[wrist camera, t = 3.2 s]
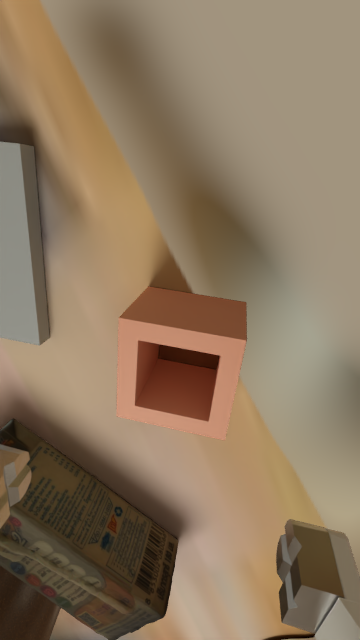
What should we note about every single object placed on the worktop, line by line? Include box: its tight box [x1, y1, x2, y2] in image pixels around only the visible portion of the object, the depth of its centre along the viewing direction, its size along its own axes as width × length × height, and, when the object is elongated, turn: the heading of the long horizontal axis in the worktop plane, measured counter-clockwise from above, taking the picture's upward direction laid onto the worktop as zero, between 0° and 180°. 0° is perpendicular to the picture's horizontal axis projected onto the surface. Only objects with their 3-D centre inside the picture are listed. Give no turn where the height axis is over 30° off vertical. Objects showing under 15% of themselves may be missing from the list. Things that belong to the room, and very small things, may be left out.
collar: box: [117, 286, 247, 440], centre depth 18 cm, size 6×6×5 cm
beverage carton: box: [0, 419, 178, 640], centre depth 26 cm, size 8×19×7 cm, turn 51°
